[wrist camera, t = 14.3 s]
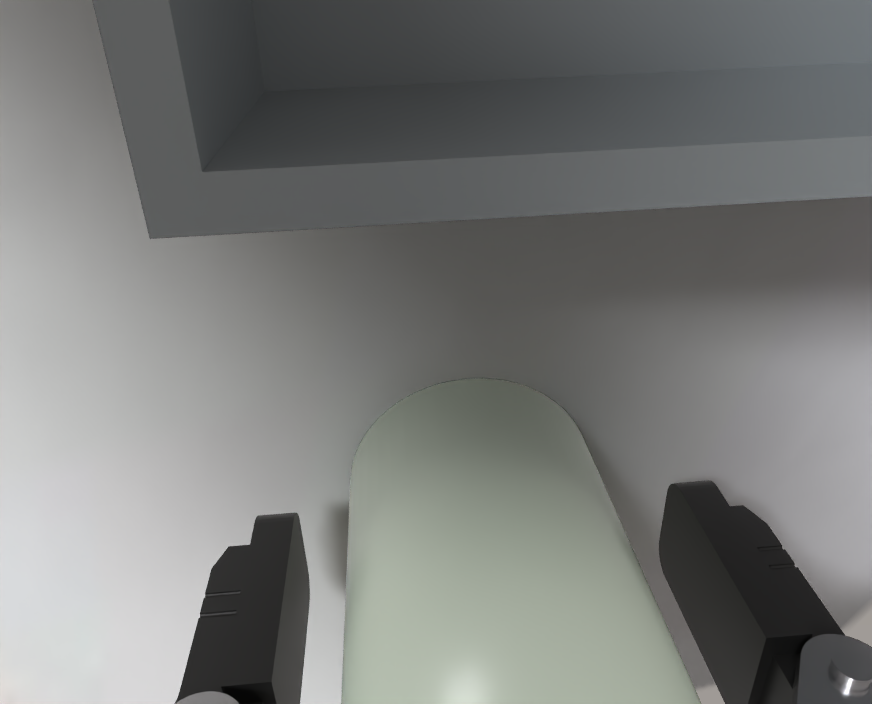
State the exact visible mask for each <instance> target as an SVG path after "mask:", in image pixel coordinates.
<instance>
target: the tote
mask: <svg viewBox="0 0 872 704" xmlns="http://www.w3.org/2000/svg"><path fill="white" fill-rule="evenodd" d="M92 1H93V5H94V9H95V13H96V17H97V21H98V26H99V30H100V34H101V38H102V42H103V46H104V50H105V55H106V59H107V63H108V67H109V71H110V75H111V79H112V84H113V88H114V92H115V96H116V100H117V104H118V108H119V113H120V117H121V121H122V125H123V129H124V133H125V137H126V142H127V146H128V150H129V154H130V158H131V162H132V166H133V171H134V175H135V179H136V183H137V187H138V191H139V195H140V200H141V204H142V208H143V212H144V216H145V220H146V224H147V229H148V233H149V237H150V239H154V238H172V237H189V236H206V235H223V234H240V233H257V232H274V231H291V230H308V229H325V228H342V227H359V226H376V225H393V224H410V223H427V222H444V221H461V220H478V219H495V218H512V217H529V216H546V215H563V214H580V213H597V212H614V211H631V210H648V209H665V208H682V207H699V206H716V205H733V204H750V203H767V202H784V201H801V200H819V199H836V198H853V197H870V196H872V0H92Z"/></svg>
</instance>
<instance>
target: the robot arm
mask: <svg viewBox="0 0 872 704" xmlns="http://www.w3.org/2000/svg"><path fill="white" fill-rule="evenodd" d="M659 555H660V562H661V566H662V570H663V573H664V575H665V578H666V580H667V582H668V584H669V586H670V588H671V590H672V592H673V595H674V597H675V599H676V601H677V603H678V605H679V607H680V609H681V611H682V613H683V616H684V618H685V620H686V622H687V624H688V626H689V628H690V630H691V632H692V635H693V637H694V639H695V641H696V643H697V645H698V647H699V649H700V651H701V654H702V656H703V658H704V660H705V662H706V664H707V666H708V668H709V670H710V673H711V675H712V677H713V679H714V681H715V683H716V685H717V687H718V689H719V691H720V694H721V696H722V698H723V700H724V702H725V704H872V647H871V646H869V645H867V644H865V643H863V642H861V641H859V640H856V639H854V638H851V637H848V636H845V634H844V633H843V632H842V630H841V629H840V628H839V626H838V625H837V623H836V622H835V620H834V619H833V618H832V616H831V615H830V613H829V612H828V610H827V609H826V608H825V606H824V605H823V603H822V602H821V600H820V599H819V598H818V596H817V595H816V593H815V592H814V590H813V589H812V588H811V586H810V585H809V583H808V582H807V580H806V579H805V578H804V576H803V575H802V573H801V572H800V570H799V569H798V567H797V568H795V566H794V562H793V560H792V559H791V557H790V556H789V555H788V553H787V552H786V550H783V549H782V545H781V543H780V542H779V540H778V539H777V537H776V536H775V535H774V533H773V532H772V530H771V529H770V527H769V526H768V525H767V523H765V522H764V521H763V520H761V519H760V518H759V517H758V516H756V515H755V514H754V513H752V512H751V511H750V510H748V509H747V508H746V507H744V506H743V505H742V506H729V504H728V503H727V501H726V500H725V498H724V496H723V495H722V493H721V492H720V490H719V489H718V487H717V486H716V485H715V484H714V483H713V482H712V481H698V482H685V483H673V484H671V485H670V486H669V488H668V491H667V496H666V502H665V509H664V515H663V521H662V528H661V534H660V540H659ZM205 595H206V596H205V598H204V600H203V604H202V608H201V612H200V618H199V619H198V623H197V627H196V631H195V635H194V639H193V642H192V646H191V650H190V654H189V658H188V662H187V665H186V669H185V673H184V677H183V681H182V685H181V688H180V692H179V695H178V698H177V700H176V702H175V704H300V697H301V686H302V676H303V665H304V655H305V644H306V634H307V623H308V613H309V599H310V589H309V574H308V567H307V561H306V555H305V549H304V543H303V537H302V531H301V525H300V520H299V516H298V514H297V513H285V514H273V515H261V516H257V517H256V520H255V524H254V529H253V533H252V538H251V543H250V545H242V546H230V547H228V548H227V549H226V551H225V552H224V553H223V555H222V556H221V557H220V559H219V560H218V561H217V563H216V564H215V565H214V566H213V568H212V569H211V573H210V577H209V581H208V585H207V589H206V592H205Z"/></svg>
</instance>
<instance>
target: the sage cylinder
mask: <svg viewBox="0 0 872 704" xmlns="http://www.w3.org/2000/svg"><path fill="white" fill-rule="evenodd" d="M341 704H701V702H700V700H699V698H698V695H697V693H696V691H695V688H694V686H693V684H692V682H691V679H690V677H689V675H688V673H687V670H686V668H685V666H684V664H683V661H682V659H681V657H680V655H679V652H678V650H677V648H676V646H675V643H674V641H673V639H672V637H671V634H670V632H669V630H668V628H667V625H666V623H665V621H664V619H663V616H662V614H661V612H660V610H659V607H658V605H657V603H656V601H655V598H654V596H653V594H652V592H651V589H650V587H649V585H648V583H647V580H646V578H645V576H644V574H643V571H642V569H641V567H640V565H639V562H638V560H637V558H636V556H635V553H634V551H633V549H632V547H631V544H630V542H629V540H628V538H627V535H626V533H625V531H624V529H623V526H622V524H621V522H620V520H619V517H618V515H617V513H616V511H615V508H614V506H613V504H612V502H611V499H610V497H609V495H608V493H607V490H606V488H605V486H604V484H603V481H602V479H601V477H600V475H599V472H598V470H597V468H596V466H595V463H594V461H593V459H592V457H591V454H590V452H589V450H588V448H587V445H586V443H585V441H584V439H583V436H582V434H581V432H580V430H579V429H578V427H577V425H576V423H575V422H574V420H573V419H572V418H571V417H570V416H569V414H568V413H567V412H566V411H565V410H564V409H563V408H562V407H561V406H559V405H558V404H557V403H556V402H555V401H553V400H552V399H550V398H549V397H547V396H546V395H544V394H542V393H540V392H538V391H536V390H534V389H532V388H530V387H527V386H524V385H521V384H518V383H515V382H509V381H504V380H499V379H486V378H474V379H461V380H454V381H448V382H444V383H441V384H437V385H433V386H430V387H428V388H425V389H423V390H420V391H418V392H415V393H414V394H412V395H410V396H408V397H406V398H404V399H402V400H401V401H399V402H398V403H397V404H395V405H394V406H392V407H391V408H389V409H388V410H387V411H386V412H385V413H384V414H383V415H382V416H381V417H379V418H378V419H377V420H376V422H375V423H374V424H373V425H372V426H371V427H370V429H369V430H368V431H367V433H366V434H365V436H364V438H363V439H362V441H361V442H360V444H359V447H358V449H357V451H356V454H355V456H354V460H353V464H352V468H351V478H350V499H349V524H348V549H347V574H346V599H345V625H344V650H343V675H342V700H341Z"/></svg>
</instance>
